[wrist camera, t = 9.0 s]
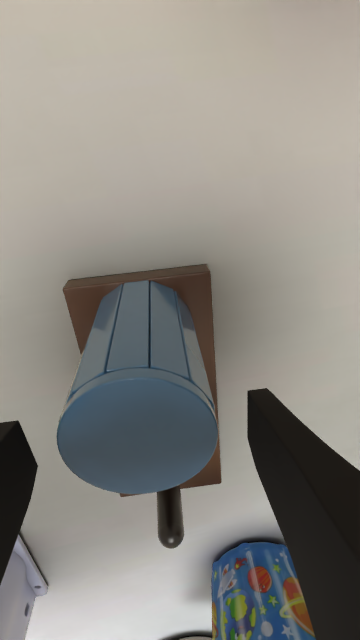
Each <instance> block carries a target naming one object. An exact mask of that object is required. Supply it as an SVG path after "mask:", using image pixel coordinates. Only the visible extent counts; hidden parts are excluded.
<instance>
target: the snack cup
mask: <svg viewBox="0 0 360 640" xmlns="http://www.w3.org/2000/svg"><path fill="white" fill-rule="evenodd" d="M211 582H212V637H213V640H316V638H315V634H314V631H313V628H312V624H311V621H310V618H309V614H308V611H307V607H306V604H305V601H304V597H303V594H302V591H301V588H300V584H299V581H298V578H297V575H296V571H295V568H294V565H293V562H292V559H291V556H290V553H289V550H288V549H287V547H286V546H285V545H283V544H274V543H269V542H255V543H242V544H240V545H239V546H238V547H236V548H234V549H231V550H229V551H228V552H226V553H225V554H224V555H223V556H221V558H220V560H218V561H216V562H214V563H213V572H212V579H211Z"/></svg>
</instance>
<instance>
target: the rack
mask: <svg viewBox="0 0 360 640" xmlns="http://www.w3.org/2000/svg"><path fill="white" fill-rule="evenodd" d="M145 280H149V283H150V281H154V282H156V283H159V284H161V285H164V286H166V287H169V288H172V289H173V290H174V291H176V292H177V293H178V294H179V296H180V297H181V298H182V300H183V301H184V302H185V303H186V305H187V306H188V307H189V310H190V312H191V316H192V320H193V324H194V328H195V332H196V336H197V340H198V344H199V347H200V351H201V355H202V359H203V363H204V367H205V371H206V375H207V379H208V382H209V386H210V390H211V394H212V398H213V402H214V406H215V417H216V421H217V426H218V408H217V389H216V370H215V351H214V332H213V313H212V294H211V275H210V271H209V269H208V267H207V265H206V264H204V265H195V266H187V267H178V268H170V269H161V270H152V271H144V272H135V273H127V274H118V275H109V276H101V277H92V278H83V279H75V280H68V282H67V283H66V285H65V286H64V288H63V292H64V295H65V299H66V302H67V306H68V310H69V313H70V317H71V320H72V324H73V328H74V331H75V335H76V338H77V342H78V345H79V349H80V353H81V355H82V352H83V349H84V346H85V343H86V340H87V337H88V335H89V332H90V329H91V326H92V323H93V320H94V317H95V315H96V312H97V309H98V307H99V304H100V301H101V300H102V299H103V297H104V296H106V295H107V294H108V293H110V292H111V291H113V290H114V289H115V288H117V287H118V286H119V285H121V284H123V285H124V283H128V282H137V281H145ZM220 483H221V465H220V446H219V427H218V441H217V445H216V448H215V451H214V453H213V455H212V457H211V459H210V460H209V462H208V463H207V464H206V466H205V467H204V468H203V469H202V470H201V471H200V472H199V473H197V474H196V475H195V476H193V477H192V478H191V479H189V480H187V481H186V482H184V483H182V484H180V485H178V486H175V487H173V488H170V489H167V490H163V491H160V492H157V513H158V538H159V541H160V542H161V544H162V545H163V546H164V547H166V548H175V547H177V546H178V545H180V543H181V542H182V540H183V537H184V526H183V515H182V504H181V493H180V489H183V488H191V487H198V486H205V485H213V484H220ZM132 495H140V494H122V493H120V496H121V497H125V496H132Z"/></svg>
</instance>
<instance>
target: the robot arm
mask: <svg viewBox="0 0 360 640" xmlns="http://www.w3.org/2000/svg"><path fill="white" fill-rule="evenodd" d="M248 441H249V445H250V448H251V452H252V456H253V459H254V463H255V466H256V469H257V472H258V475H259V477H260V480H261V482H262V485H263V487H264V490H265V492H266V495H267V497H268V500H269V502H270V505H271V507H272V510H273V512H274V515H275V517H276V520H277V522H278V525H279V527H280V530H281V532H282V535H283V537H284V540H285V542H286V545H287V548H288V550H289V553H290V556H291V559H292V562H293V565H294V568H295V571H296V575H297V578H298V581H299V584H300V588H301V591H302V594H303V597H304V601H305V604H306V607H307V611H308V614H309V618H310V621H311V624H312V628H313V631H314V634H315V638H316V640H360V471H359V470H358V469H356V468H355V467H354V466H353V465H351V464H350V463H349V462H347V461H346V460H345V459H344V458H343V457H341V456H340V455H339V454H338V453H336V452H335V451H334V450H333V449H332V448H330V447H329V446H328V445H327V444H326V443H324V442H323V441H322V440H321V439H320V438H319V437H318V436H317V435H315V434H314V433H313V432H312V431H311V430H310V429H309V428H308V427H306V426H305V425H304V424H303V423H302V422H301V421H300V420H299V419H298V418H297V417H296V416H295V415H294V414H293V413H292V412H291V411H290V410H288V409H287V408H286V407H285V406H284V405H283V404H282V403H281V402H280V401H279V400H278V399H277V398H276V397H275V396H274V395H273V393H272V392H271V391H269V390H268V389H267V388H265V389H257V390H249V391H248ZM37 467H38V465H37V463H36V460H35V458H34V456H33V453H32V451H31V449H30V446H29V444H28V442H27V439H26V437H25V435H24V432H23V430H22V428H21V425H20V423H19V421H11V422H3V423H0V640H25V637H26V633H27V629H28V625H29V621H30V617H31V613H32V609H33V606H34V602H35V598H36V597H37V596H43V595H46V594H47V592H48V586H47V585H46V583H45V581H44V579H43V577H42V576H41V574H40V572H39V570H38V568H37V566H36V565H35V563H34V561H33V559H32V557H31V556H30V554H29V552H28V550H27V548H26V546H25V545H24V543H23V541H22V539H21V537H20V536H19V531H20V529H21V526H22V523H23V520H24V517H25V514H26V511H27V508H28V505H29V502H30V499H31V495H32V491H33V487H34V482H35V477H36V472H37Z"/></svg>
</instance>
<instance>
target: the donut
mask: <svg viewBox="0 0 360 640" xmlns="http://www.w3.org/2000/svg"><path fill="white" fill-rule="evenodd" d="M177 640H213V638H210V637H202V636H194V637H185V638H181V639H177Z"/></svg>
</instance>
